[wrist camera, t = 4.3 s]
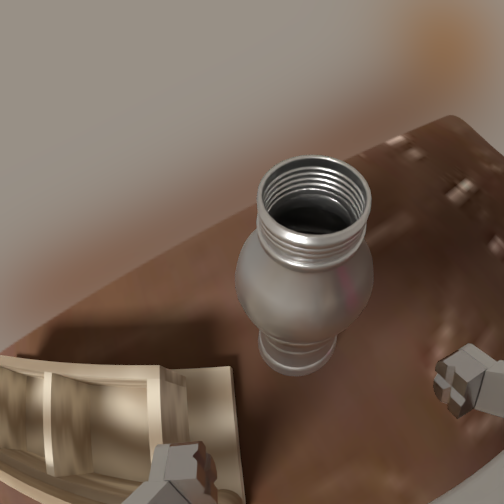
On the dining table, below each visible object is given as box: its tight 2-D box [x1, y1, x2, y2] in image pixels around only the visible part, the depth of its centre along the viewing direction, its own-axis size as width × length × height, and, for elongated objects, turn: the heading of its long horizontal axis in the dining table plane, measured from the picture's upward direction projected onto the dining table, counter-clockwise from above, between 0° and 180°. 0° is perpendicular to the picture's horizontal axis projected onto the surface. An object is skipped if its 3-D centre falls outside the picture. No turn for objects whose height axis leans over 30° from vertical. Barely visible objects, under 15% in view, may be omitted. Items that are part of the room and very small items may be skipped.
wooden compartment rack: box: [0, 355, 246, 504], centre depth 17 cm, size 14×30×12 cm, turn 96°
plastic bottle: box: [235, 155, 374, 376], centre depth 17 cm, size 6×7×20 cm
